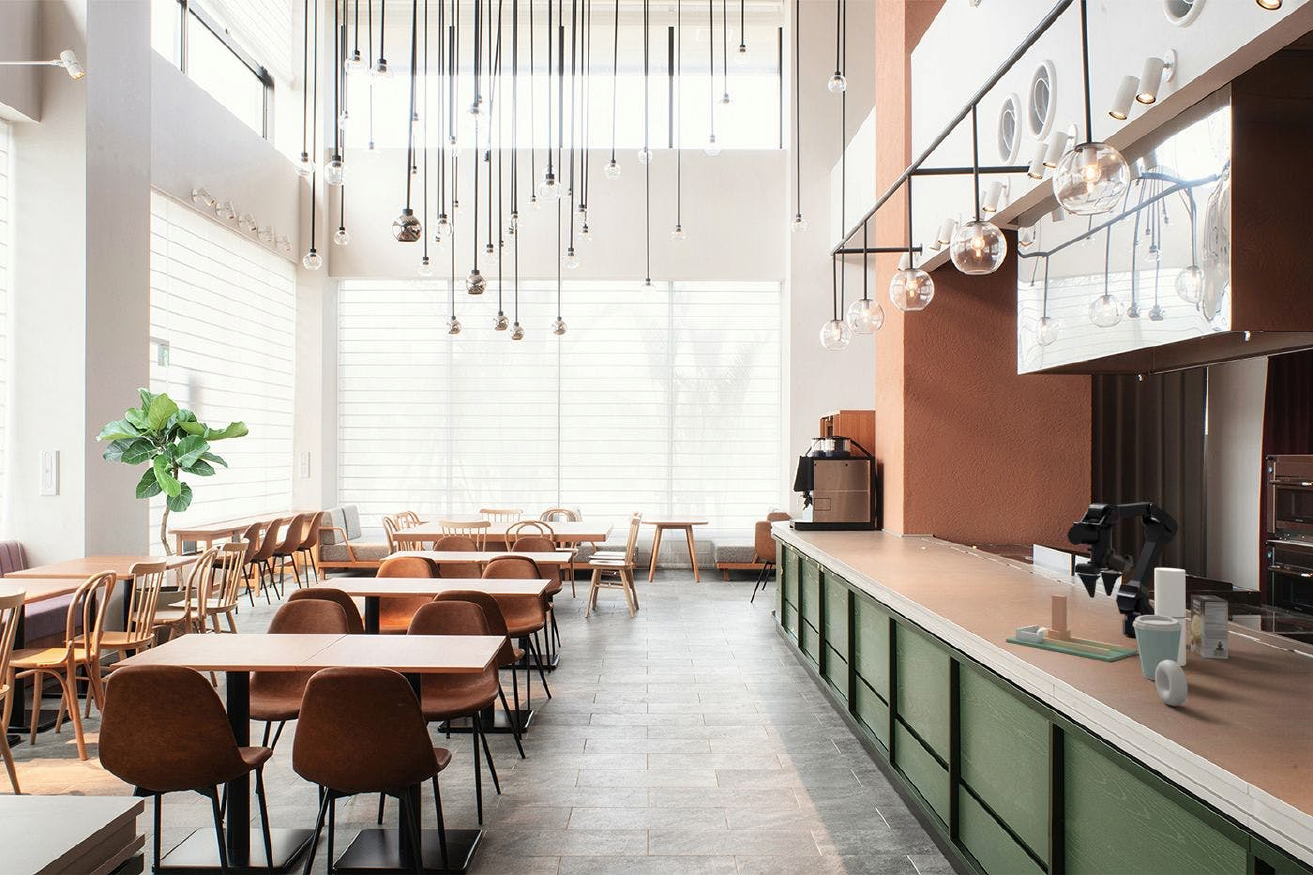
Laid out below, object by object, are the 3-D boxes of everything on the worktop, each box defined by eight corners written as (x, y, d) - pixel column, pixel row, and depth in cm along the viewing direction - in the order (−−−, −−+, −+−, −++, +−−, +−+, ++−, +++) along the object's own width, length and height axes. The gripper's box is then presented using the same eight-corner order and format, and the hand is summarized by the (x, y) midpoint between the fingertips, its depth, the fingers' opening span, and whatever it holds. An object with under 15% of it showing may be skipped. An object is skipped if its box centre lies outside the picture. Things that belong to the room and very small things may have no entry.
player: (1058, 639, 251) (1058, 593, 251) (1070, 641, 248) (1070, 595, 249) (1048, 642, 248) (1048, 595, 248) (1059, 644, 245) (1059, 597, 245)
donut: (1152, 698, 194) (1151, 654, 194) (1167, 699, 194) (1167, 655, 194) (1174, 711, 184) (1174, 665, 184) (1191, 712, 184) (1190, 666, 184)
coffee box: (1189, 650, 243) (1189, 594, 243) (1214, 651, 242) (1214, 595, 242) (1203, 658, 234) (1203, 599, 234) (1229, 659, 233) (1229, 600, 233)
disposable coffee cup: (1182, 686, 205) (1182, 623, 205) (1131, 679, 210) (1131, 619, 211) (1182, 676, 214) (1182, 617, 214) (1133, 670, 219) (1133, 612, 220)
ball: (1046, 638, 254) (1050, 628, 253) (1047, 643, 250) (1052, 633, 249) (1034, 634, 254) (1038, 624, 253) (1036, 639, 251) (1040, 629, 250)
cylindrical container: (1175, 666, 224) (1175, 571, 224) (1149, 661, 230) (1148, 568, 230) (1191, 664, 227) (1191, 570, 227) (1165, 658, 233) (1164, 567, 234)
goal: (1036, 634, 260) (1036, 622, 260) (1062, 639, 253) (1062, 627, 253) (1015, 639, 253) (1015, 627, 253) (1041, 644, 246) (1041, 631, 246)
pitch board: (1034, 635, 262) (1034, 627, 262) (1136, 653, 238) (1136, 645, 238) (1006, 641, 253) (1006, 633, 253) (1109, 661, 229) (1109, 653, 229)
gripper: (1110, 548, 246) (1110, 602, 245) (1144, 546, 256) (1143, 598, 255) (1073, 544, 255) (1073, 597, 254) (1107, 543, 265) (1107, 593, 265)
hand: (1100, 596), depth 257 cm, fingers open, 9 cm apart
